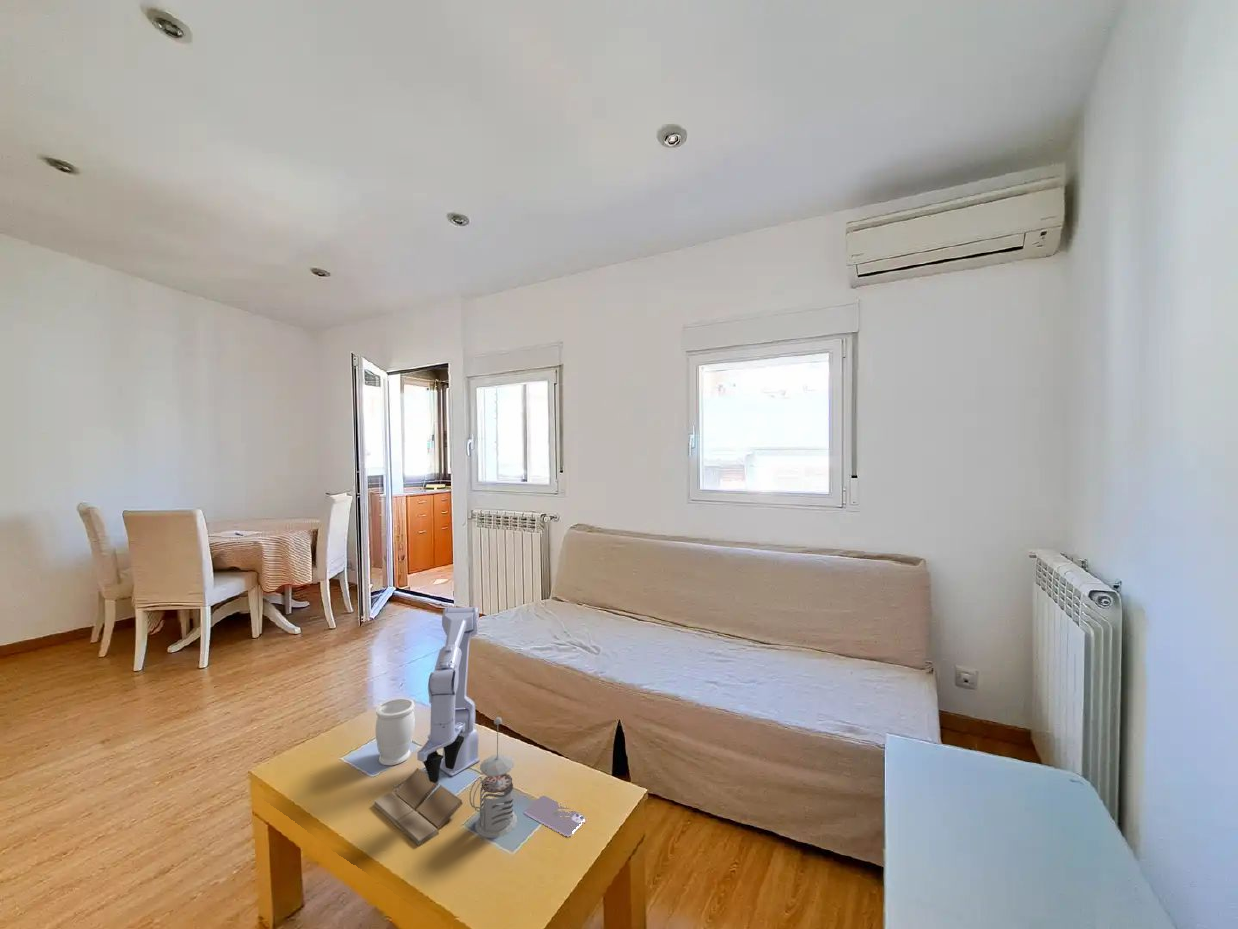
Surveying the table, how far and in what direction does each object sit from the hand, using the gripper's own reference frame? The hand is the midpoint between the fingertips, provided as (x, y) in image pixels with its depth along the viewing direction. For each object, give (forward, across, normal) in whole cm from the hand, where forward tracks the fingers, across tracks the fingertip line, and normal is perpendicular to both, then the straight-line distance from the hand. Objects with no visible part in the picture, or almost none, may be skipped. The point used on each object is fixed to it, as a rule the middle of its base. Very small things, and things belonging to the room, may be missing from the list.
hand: (441, 774), depth 118 cm
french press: (+10, -2, +14) cm, 17 cm away
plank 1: (+8, -2, -10) cm, 13 cm away
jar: (+10, -13, -29) cm, 33 cm away
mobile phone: (+10, -10, +26) cm, 30 cm away
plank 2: (+8, 0, 0) cm, 8 cm away
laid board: (+9, +5, -7) cm, 13 cm away
